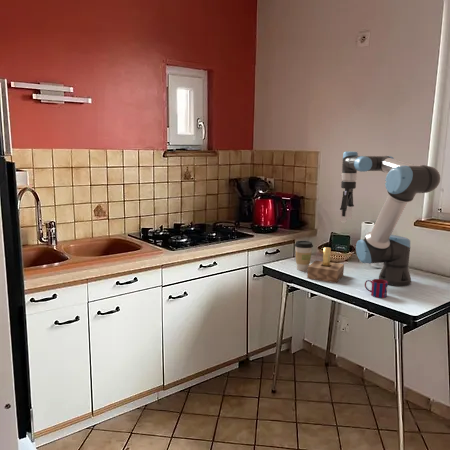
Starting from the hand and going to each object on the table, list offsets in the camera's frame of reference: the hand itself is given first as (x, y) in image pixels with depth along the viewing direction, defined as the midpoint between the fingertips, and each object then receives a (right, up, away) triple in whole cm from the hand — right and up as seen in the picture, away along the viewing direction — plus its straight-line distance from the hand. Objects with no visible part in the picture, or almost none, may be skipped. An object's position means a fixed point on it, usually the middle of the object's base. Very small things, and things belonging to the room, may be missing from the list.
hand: (346, 220), depth 246 cm
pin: (-14, -28, -11) cm, 33 cm away
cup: (+3, -35, -37) cm, 51 cm away
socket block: (-14, -29, -11) cm, 34 cm away
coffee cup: (-23, -27, +2) cm, 35 cm away
